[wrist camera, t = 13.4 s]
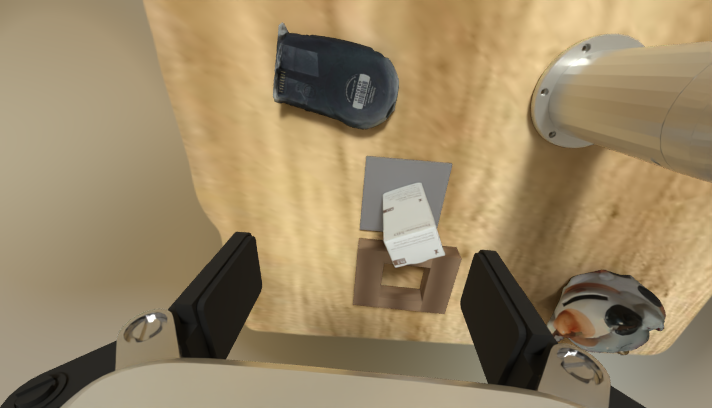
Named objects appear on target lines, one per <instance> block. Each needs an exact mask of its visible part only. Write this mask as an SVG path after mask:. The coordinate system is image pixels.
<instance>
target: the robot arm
mask: <svg viewBox="0 0 712 408" xmlns="http://www.w3.org/2000/svg"><path fill="white" fill-rule="evenodd" d="M582 48H583V49H582ZM542 90H543V92H542V93H541V91H542ZM531 116H532V121H533V124H534V126H535V128H536V130H537V132H538V133H539V134H540V135H541V137H543V138H544V139H545V140H547V141H548V142H550V143H553V144H555V145H558V146H561V147H565V148H581V147H587V146H591V145H594V144H596V145H599V146H602V147H604V148H607V149H610V150H613V151H616V152H619V153H622V154H625V155H628V156H631V157H634V158H637V159H640V160H643V161H646V162H649V163H651V164H654V165H657V166H660V167H663V168H666V169H669V170H672V171H675V172H678V173H681V174H684V175H688V176H691V177H694V178H697V179H700V180H703V181H707V182H711V183H712V41H709V42H697V43H685V44H673V45H661V46H650V47H645V46H644V45H643V44H642V43H641V42H639V41H638V40H637V39H635V38H632V37H630V36H627V35H622V34H604V35H599V36H594V37H591V38H588V39H585V40H582V41H580V42H578V43H576V44H574V45H572V46H571V47H569V48H568V49H567V50H565V51H564V52H562V53H561V54H560V55H559V56H558V57H557V58H556V59H555V60H554V61H553V62H552V63H551V64H550V65H549V66H548V68H547V69H546V70H545V71H544V73H543V74H542V76H541V78H540V80H539V81H538V83H537V85H536V88H535V91H534V93H533V98H532V103H531ZM549 133H550V134H549ZM261 289H262V279H261V272H260V266H259V259H258V252H257V245H256V239H255V237H254V236H252V235H251V233H247V232H235V233H234V234H233V235H232V237H231V238H230V239H229V240H228V241H227V242H226V244H225V245H224V246H223V247H222V248H221V249H220V251H219V252H218V253H217V254H216V255H215V256H214V258H213V259H212V260H211V261H210V262H209V263H208V264H207V265H206V266H205V267H204V269H203V270H202V271H201V272H200V274H198V276H197V277H196V278H195V279H194V280H193V281H192V282H191V283H190V285H189V286H188V287H187V288H186V289H185V290H184V292H183V293H182V294H181V295H180V296H179V297H178V299H177V300H176V301H175V302H174V303H173V304H172V305H171V307H170V308H169V309H168V310H166V309H153V310H149V311H146V312H143V313H141V314H139V315H137V316H135V317H134V318H132V319H131V320H129V321H128V322H127V323H126V324H125V325H124V326H123V327H122V328H121V330H120V331H119V333H118V336H117V341H115V342H112V343H110V344H108V345H106V346H103V347H101V348H99V349H97V350H94V351H92V352H90V353H88V354H85V355H83V356H81V357H79V358H76V359H74V360H72V361H70V362H67V363H65V364H63V365H61V366H58V367H56V368H54V369H52V370H49V371H47V372H45V373H43V374H40V375H39V376H37V377H35V378H33V379H31V380H29V381H28V382H27V383H25V384H23V385H22V386H20V387H19V388H18V389H17V390H16V391H14V392H13V393H12V394H11V395H10V396H9V397H8V398H7V399H6V400H5V402H4V403H3V404H2V405H1V407H0V408H646V407H644V406H642V405H641V404H639V403H638V402H636V401H634V400H633V399H631V398H630V397H628V396H626V395H625V394H623V393H622V392H620V391H619V390H617V389H615V388H614V387H612V386H611V382H610V376H609V375H608V373H607V371H606V369H605V368H604V367H603V365H602V364H601V363H600V362H599V361H598V360H597V359H596V358H594V357H593V356H592V355H591V354H589V353H588V352H586V351H584V350H583V349H581V348H578V347H576V346H574V345H570V344H566V343H559V344H558V342H557V341H556V339H555V338H554V336H553V335H552V333H551V332H550V330H549V329H548V327H547V326H546V324H545V323H544V321H543V320H542V318H541V317H540V315H539V314H538V312H537V311H536V309H535V308H534V306H533V305H532V303H531V302H530V300H529V299H528V297H527V296H526V294H525V293H524V291H523V290H522V289H521V287H520V286H519V285H518V283H517V282H516V280H515V279H514V277H513V276H512V274H511V273H510V271H509V270H508V268H507V267H506V265H505V264H504V262H503V261H502V259H501V258H500V256H499V255H498V253H497V252H496V251H491V250H480V251H479V252H478V253H475V254H474V257H473V260H472V263H471V267H470V270H469V274H468V277H467V280H466V284H465V287H464V290H463V294H462V297H461V301H460V305H461V310H462V313H463V315H464V318H465V321H466V324H467V326H468V329H469V332H470V335H471V338H472V340H473V343H474V346H475V349H476V352H477V354H478V357H479V360H480V363H481V365H482V368H483V371H484V374H485V376H486V379H487V382H488V384H486V383H477V382H468V381H459V380H449V379H438V378H429V377H418V376H408V375H398V374H386V373H377V372H365V371H354V370H344V369H333V368H322V367H311V366H299V365H288V364H276V363H264V362H253V361H240V360H226V358H227V356H228V354H229V352H230V350H231V348H232V347H233V345H234V343H235V341H236V339H237V337H238V335H239V333H240V331H241V329H242V327H243V325H244V323H245V321H246V319H247V318H248V316H249V314H250V312H251V310H252V308H253V306H254V304H255V302H256V300H257V298H258V296H259V294H260V292H261Z"/></svg>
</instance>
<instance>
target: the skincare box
mask: <svg viewBox="0 0 712 408" xmlns="http://www.w3.org/2000/svg"><path fill="white" fill-rule="evenodd" d="M383 238H384V244H385V246H386V248H387V251H388V253H389V255H390V257H391V260H392V262H393V265H394V267H395V268H397V267H401V266H405V265H409V264H417V263H421V262H424V261H427V260H429V259H432V258H436V257H440V256H444V255H445V252H444V250H443V247H442V244H441V241H440V237H439V234H438V231H437V228H436V225H435V221H434V218H433V215H432V212H431V209H430V206H429V204H428V201H427V198H426V195H425V192H424V189H423V186H422V183H415V184H411V185H407V186H404V187H401V188H398V189H395V190H392V191H389V192H387V193H384V194H383Z"/></svg>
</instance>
